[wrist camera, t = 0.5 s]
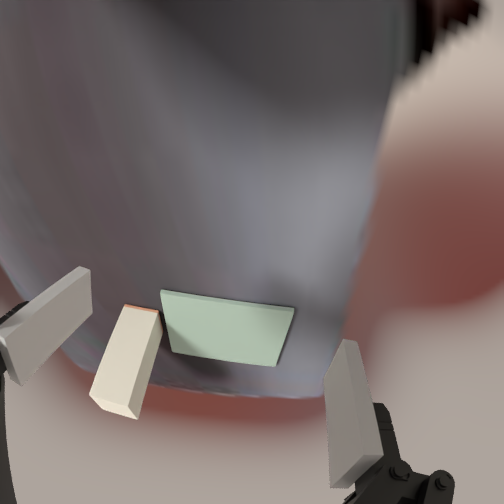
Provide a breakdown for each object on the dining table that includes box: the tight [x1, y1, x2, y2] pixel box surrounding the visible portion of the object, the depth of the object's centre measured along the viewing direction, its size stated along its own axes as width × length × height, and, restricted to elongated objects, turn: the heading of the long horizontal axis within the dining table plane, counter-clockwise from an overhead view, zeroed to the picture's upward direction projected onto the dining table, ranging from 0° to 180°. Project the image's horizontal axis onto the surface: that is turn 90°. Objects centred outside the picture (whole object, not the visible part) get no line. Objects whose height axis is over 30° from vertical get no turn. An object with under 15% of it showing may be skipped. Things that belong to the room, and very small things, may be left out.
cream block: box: [89, 304, 163, 419], centre depth 35 cm, size 5×5×14 cm
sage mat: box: [160, 290, 294, 367], centre depth 40 cm, size 14×16×1 cm
